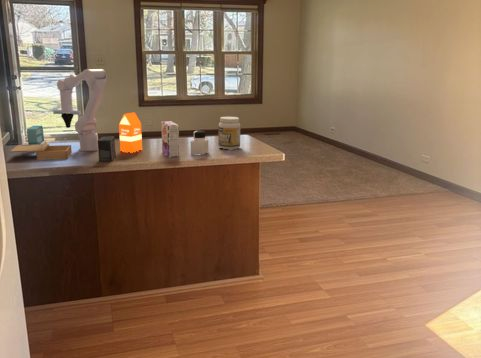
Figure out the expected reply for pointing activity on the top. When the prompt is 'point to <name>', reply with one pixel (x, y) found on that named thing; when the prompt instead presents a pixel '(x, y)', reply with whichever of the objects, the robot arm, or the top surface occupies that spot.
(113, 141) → the small box
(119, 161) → the top surface
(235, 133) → the supplement tub
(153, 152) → the top surface
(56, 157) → the mailer box
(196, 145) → the medicine bottle
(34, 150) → the mailer lid
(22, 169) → the top surface
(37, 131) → the data package
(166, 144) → the candy box
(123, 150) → the orange juice
